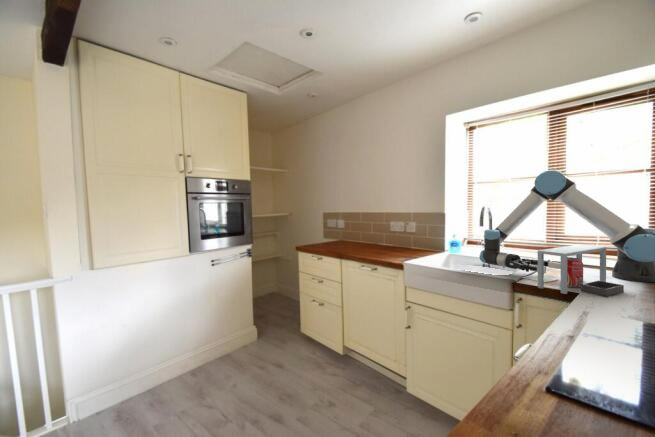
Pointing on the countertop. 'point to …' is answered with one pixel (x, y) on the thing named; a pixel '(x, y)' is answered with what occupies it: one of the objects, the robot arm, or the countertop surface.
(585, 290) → the tray
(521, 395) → the countertop surface
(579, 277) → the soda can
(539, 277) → the bridge
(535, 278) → the mat
